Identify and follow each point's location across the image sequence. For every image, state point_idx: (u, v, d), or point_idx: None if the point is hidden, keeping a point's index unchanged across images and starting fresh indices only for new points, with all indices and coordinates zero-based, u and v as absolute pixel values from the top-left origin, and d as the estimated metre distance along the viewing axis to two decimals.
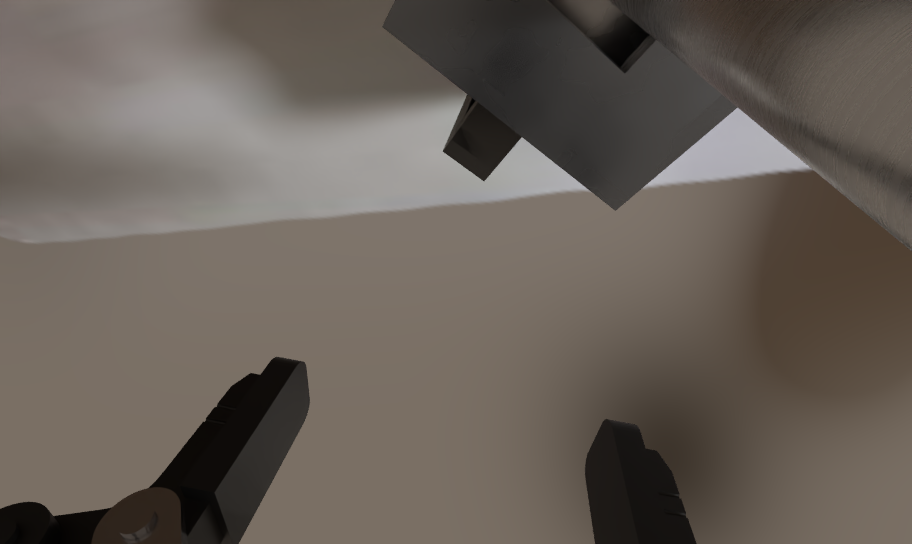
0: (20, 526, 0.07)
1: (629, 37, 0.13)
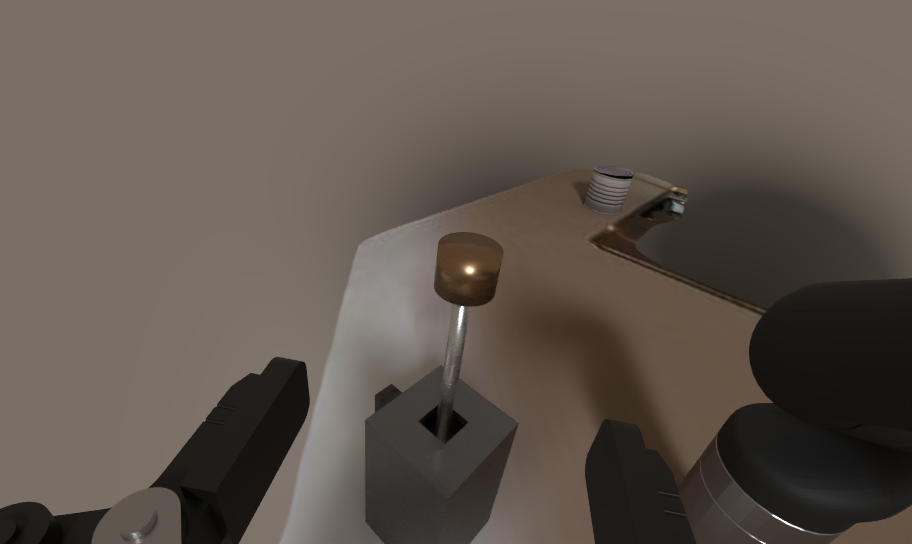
0: (20, 526, 0.07)
1: None
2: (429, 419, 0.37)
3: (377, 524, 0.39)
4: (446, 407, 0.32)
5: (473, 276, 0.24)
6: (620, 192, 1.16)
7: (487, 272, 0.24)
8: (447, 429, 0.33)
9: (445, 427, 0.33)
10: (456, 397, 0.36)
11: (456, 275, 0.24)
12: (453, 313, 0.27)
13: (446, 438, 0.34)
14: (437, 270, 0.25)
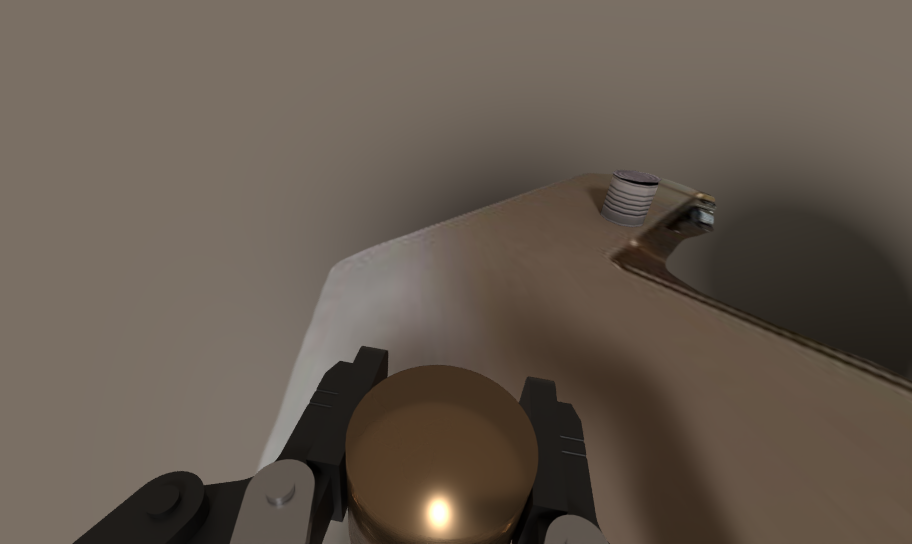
0: (179, 492, 0.07)
1: None
2: None
3: None
4: None
5: None
6: (644, 201, 1.00)
7: (492, 540, 0.07)
8: None
9: None
10: None
11: None
12: None
13: None
14: (348, 497, 0.09)
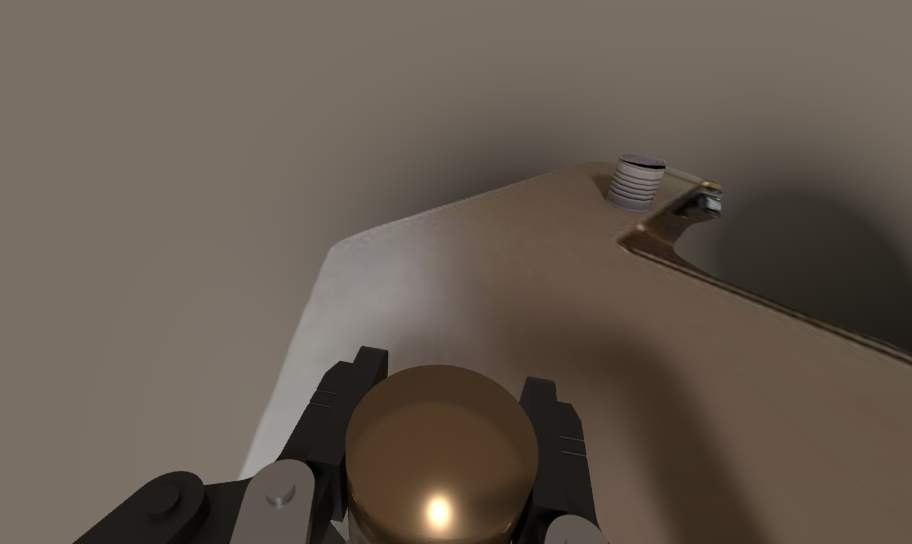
0: (179, 492, 0.07)
1: None
2: None
3: None
4: None
5: None
6: (650, 185, 0.98)
7: (493, 540, 0.07)
8: None
9: None
10: None
11: None
12: None
13: None
14: (348, 497, 0.09)
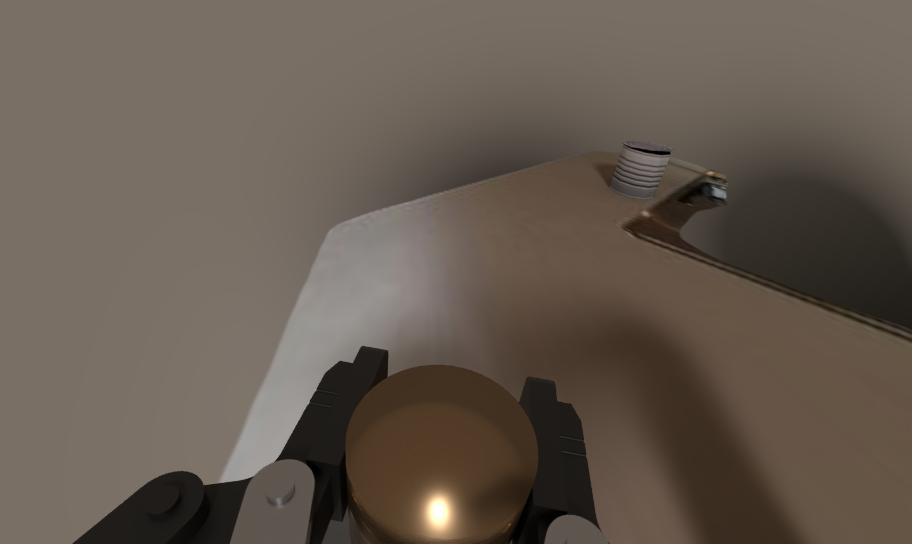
0: (179, 492, 0.07)
1: None
2: None
3: None
4: None
5: None
6: (655, 171, 0.96)
7: (492, 540, 0.07)
8: None
9: None
10: None
11: None
12: None
13: None
14: (348, 497, 0.09)
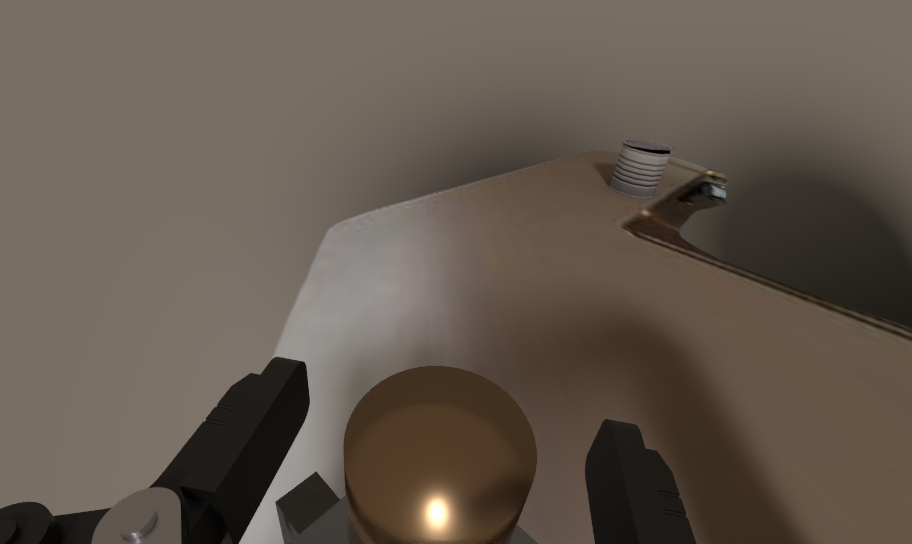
0: (20, 526, 0.07)
1: None
2: None
3: None
4: None
5: None
6: (655, 171, 0.96)
7: (491, 542, 0.07)
8: None
9: None
10: None
11: None
12: None
13: None
14: (346, 499, 0.09)
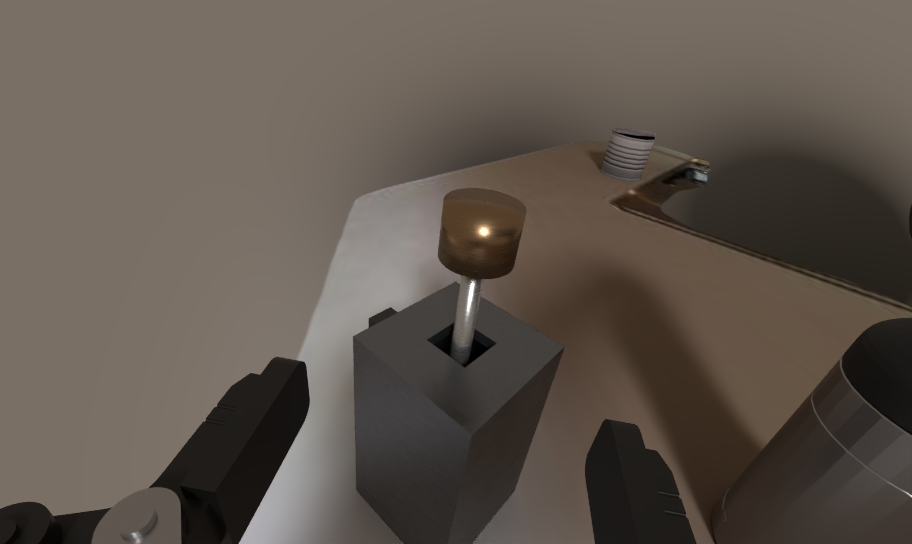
0: (20, 526, 0.07)
1: None
2: None
3: (371, 491, 0.30)
4: None
5: (489, 237, 0.18)
6: (641, 155, 1.07)
7: (507, 233, 0.18)
8: None
9: None
10: (478, 315, 0.26)
11: (467, 238, 0.18)
12: (461, 290, 0.22)
13: None
14: (442, 233, 0.20)
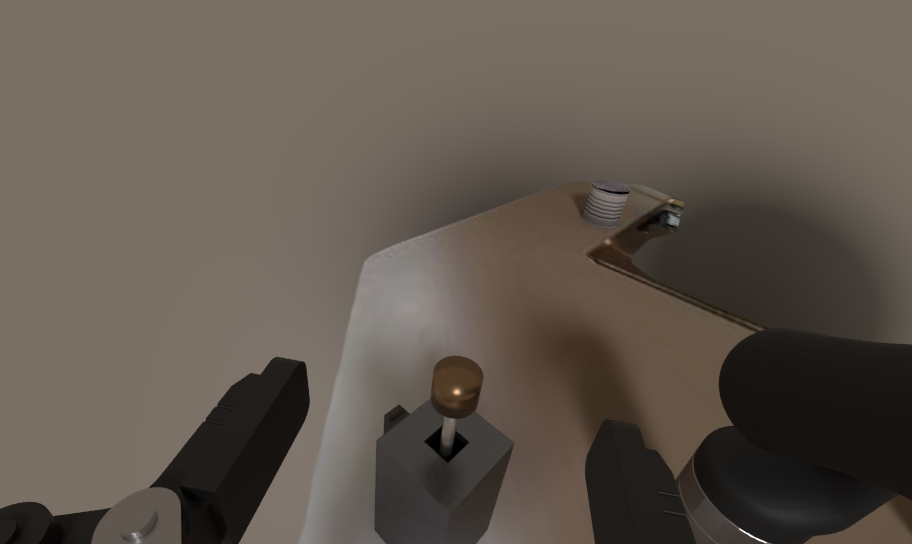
0: (20, 526, 0.07)
1: None
2: None
3: (385, 533, 0.43)
4: None
5: (460, 400, 0.31)
6: (617, 207, 1.20)
7: (470, 396, 0.32)
8: None
9: None
10: None
11: (447, 399, 0.32)
12: (445, 416, 0.35)
13: None
14: (433, 390, 0.33)
